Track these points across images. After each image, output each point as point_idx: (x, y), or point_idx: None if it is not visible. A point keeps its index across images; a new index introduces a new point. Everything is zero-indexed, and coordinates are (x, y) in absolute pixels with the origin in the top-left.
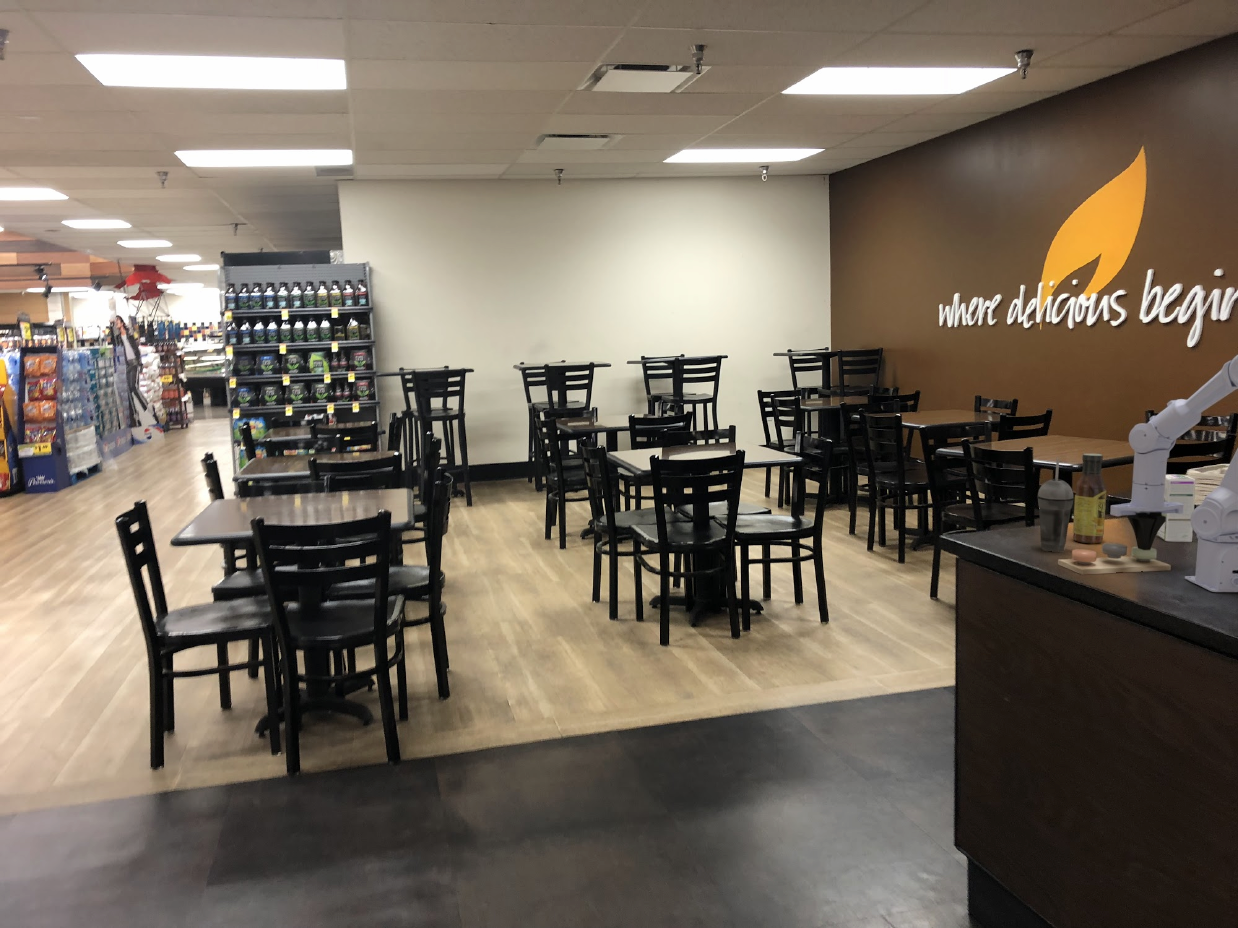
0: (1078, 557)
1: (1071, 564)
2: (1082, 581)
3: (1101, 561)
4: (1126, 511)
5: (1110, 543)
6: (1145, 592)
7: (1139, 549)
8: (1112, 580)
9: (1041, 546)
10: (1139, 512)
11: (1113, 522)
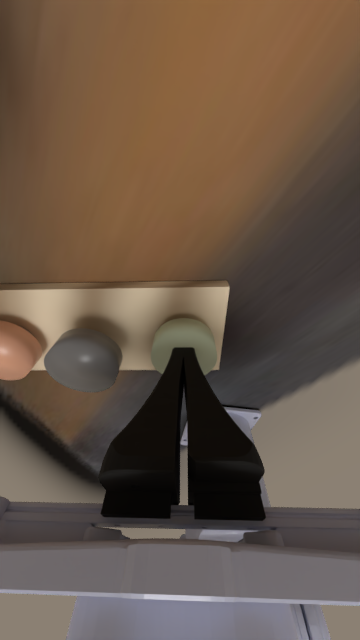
0: None
1: None
2: (12, 390)
3: (71, 324)
4: (49, 535)
5: (76, 350)
6: (95, 430)
7: (167, 360)
8: (67, 392)
9: None
10: (131, 525)
11: None
